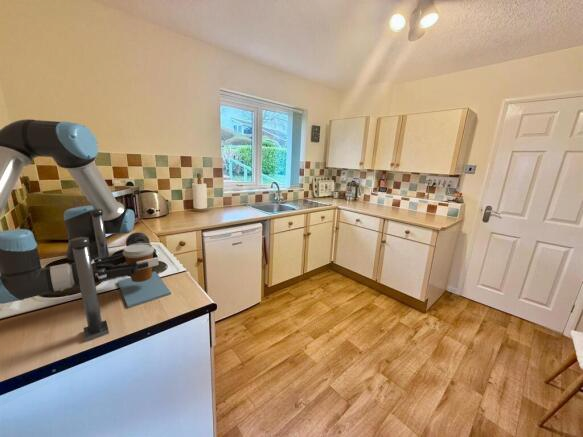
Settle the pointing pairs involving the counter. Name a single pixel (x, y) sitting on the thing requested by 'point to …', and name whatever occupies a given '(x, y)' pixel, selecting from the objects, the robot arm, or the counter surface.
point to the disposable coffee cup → (139, 259)
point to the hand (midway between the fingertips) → (154, 257)
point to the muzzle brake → (139, 241)
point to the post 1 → (88, 289)
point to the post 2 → (100, 234)
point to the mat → (143, 290)
